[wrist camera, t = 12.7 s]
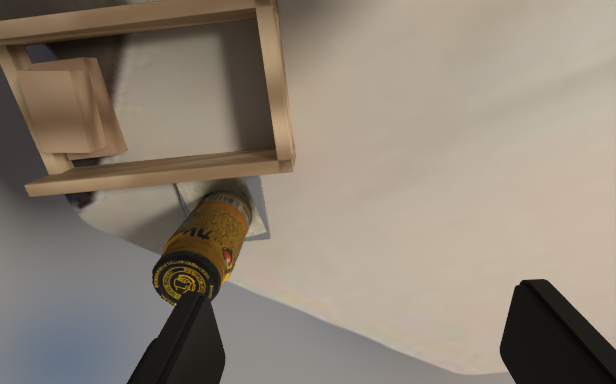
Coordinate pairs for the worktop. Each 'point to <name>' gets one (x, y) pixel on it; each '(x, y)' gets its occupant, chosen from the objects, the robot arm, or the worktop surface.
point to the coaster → (258, 198)
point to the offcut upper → (63, 110)
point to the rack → (138, 18)
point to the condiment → (207, 238)
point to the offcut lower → (102, 99)
